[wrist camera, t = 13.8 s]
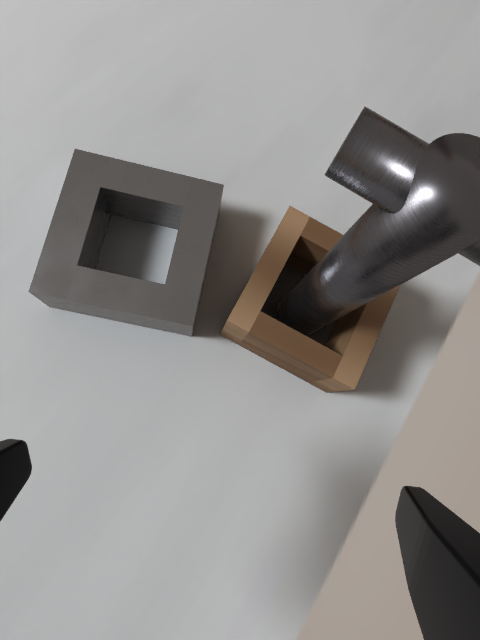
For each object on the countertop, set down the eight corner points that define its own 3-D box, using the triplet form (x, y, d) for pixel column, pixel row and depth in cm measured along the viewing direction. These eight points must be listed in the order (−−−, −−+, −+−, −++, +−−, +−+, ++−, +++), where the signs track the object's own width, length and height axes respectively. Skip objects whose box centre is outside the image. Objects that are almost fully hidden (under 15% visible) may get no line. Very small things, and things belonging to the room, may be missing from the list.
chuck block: (191, 336, 23) (192, 326, 20) (49, 306, 22) (28, 291, 19) (219, 210, 25) (223, 184, 22) (88, 180, 24) (75, 148, 21)
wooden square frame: (326, 392, 23) (354, 389, 19) (220, 334, 23) (227, 320, 19) (372, 291, 25) (406, 270, 21) (273, 237, 25) (289, 205, 21)
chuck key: (349, 322, 24) (594, 203, 10) (331, 360, 24) (562, 293, 9) (263, 273, 24) (380, 78, 10) (243, 309, 24) (335, 159, 9)
